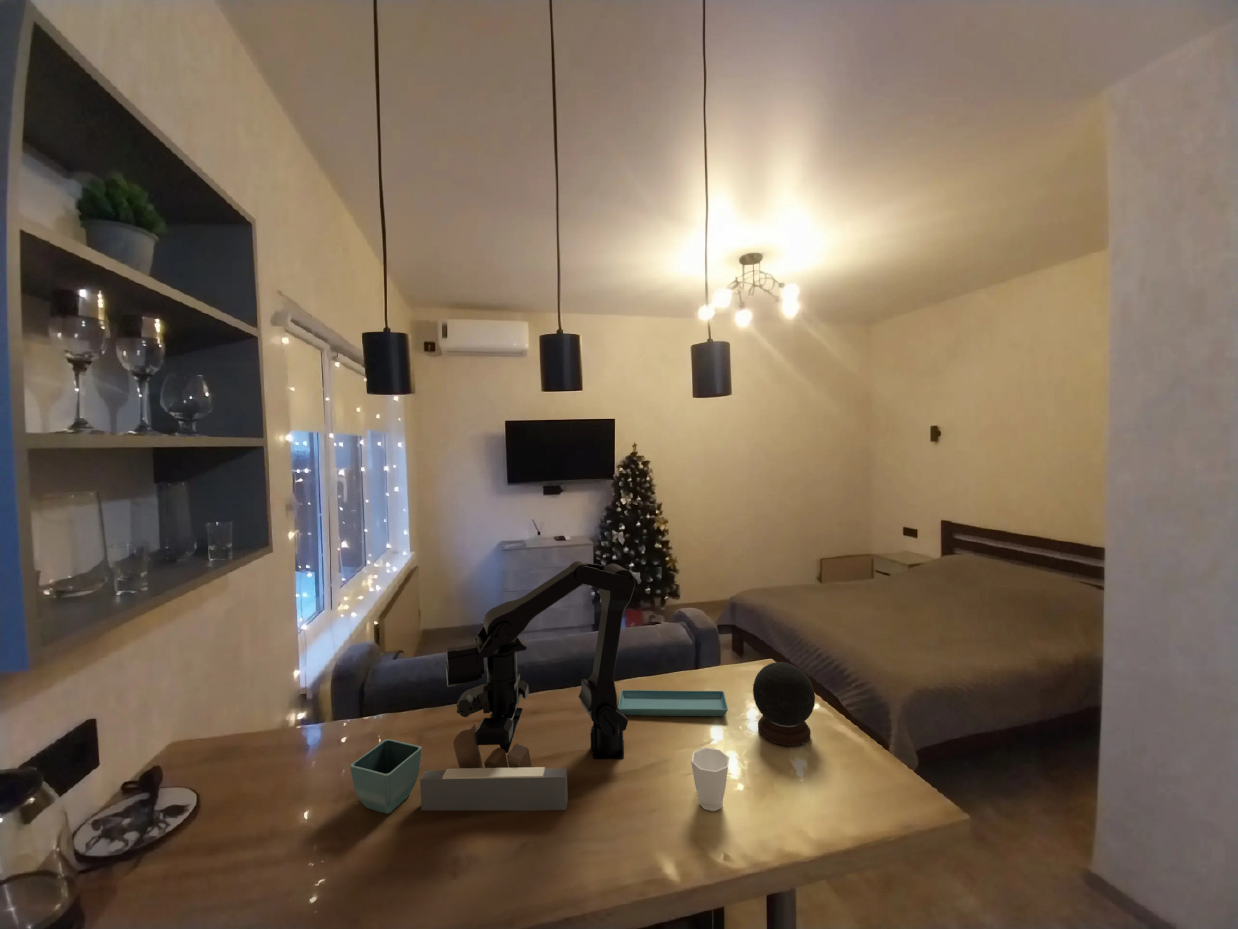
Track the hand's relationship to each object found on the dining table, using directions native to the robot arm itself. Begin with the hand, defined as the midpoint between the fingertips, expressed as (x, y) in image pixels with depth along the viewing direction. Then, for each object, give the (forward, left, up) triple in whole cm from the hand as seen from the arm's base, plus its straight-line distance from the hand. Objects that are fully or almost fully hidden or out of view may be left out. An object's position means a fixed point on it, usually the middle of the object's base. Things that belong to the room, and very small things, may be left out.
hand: (505, 752), depth 98 cm
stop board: (0, +8, -5) cm, 9 cm away
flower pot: (+20, +7, -5) cm, 22 cm away
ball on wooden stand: (-59, -14, -5) cm, 61 cm away
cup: (-39, +6, -5) cm, 40 cm away
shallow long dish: (-35, -25, -6) cm, 44 cm away
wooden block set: (+4, -1, -4) cm, 6 cm away
